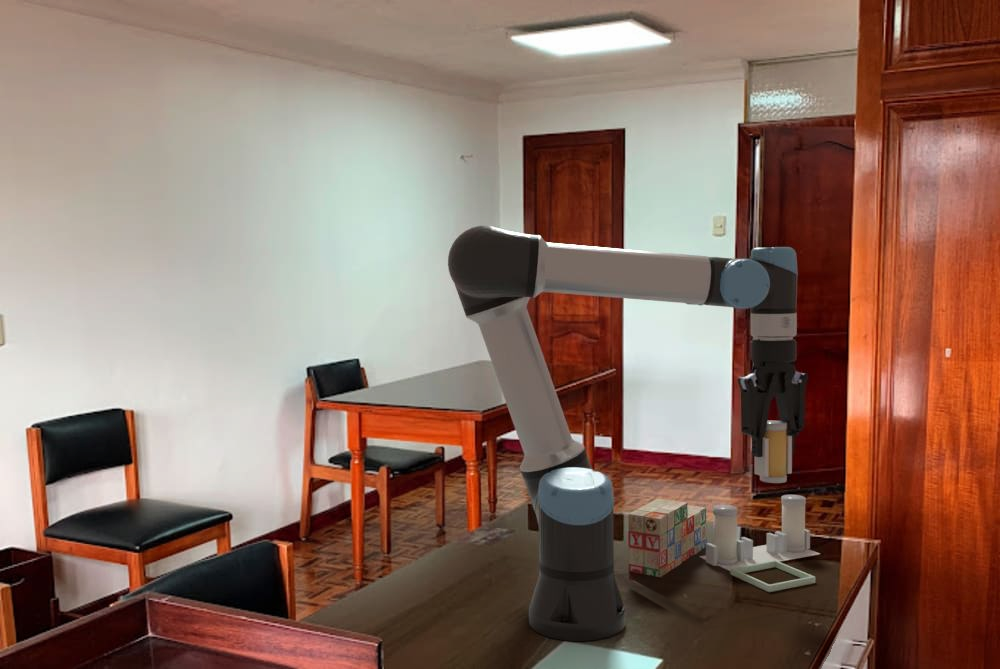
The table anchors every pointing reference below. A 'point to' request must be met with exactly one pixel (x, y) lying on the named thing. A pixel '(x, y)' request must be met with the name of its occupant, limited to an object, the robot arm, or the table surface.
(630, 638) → the table surface
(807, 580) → the tray
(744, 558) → the fuse panel
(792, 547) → the fuse cream far
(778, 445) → the fuse amber
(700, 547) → the stack of blocks
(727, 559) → the ball
